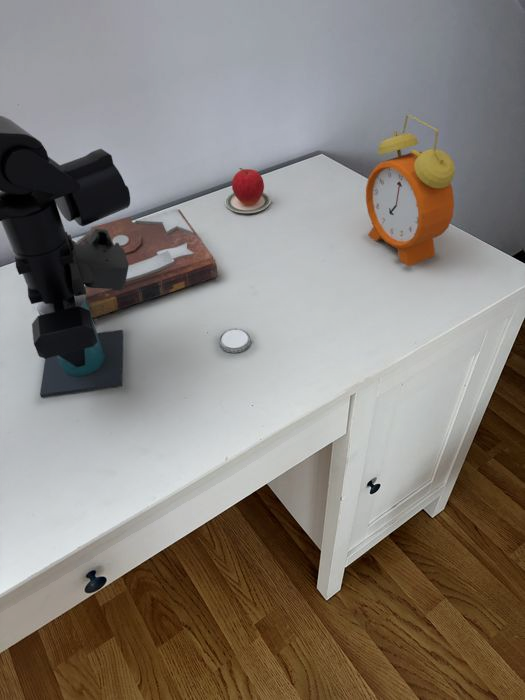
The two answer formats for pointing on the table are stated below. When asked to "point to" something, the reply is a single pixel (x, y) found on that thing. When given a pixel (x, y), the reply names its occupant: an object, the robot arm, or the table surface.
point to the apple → (247, 193)
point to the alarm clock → (410, 197)
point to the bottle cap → (234, 340)
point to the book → (152, 260)
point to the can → (92, 354)
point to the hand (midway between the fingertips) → (77, 344)
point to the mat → (102, 378)
